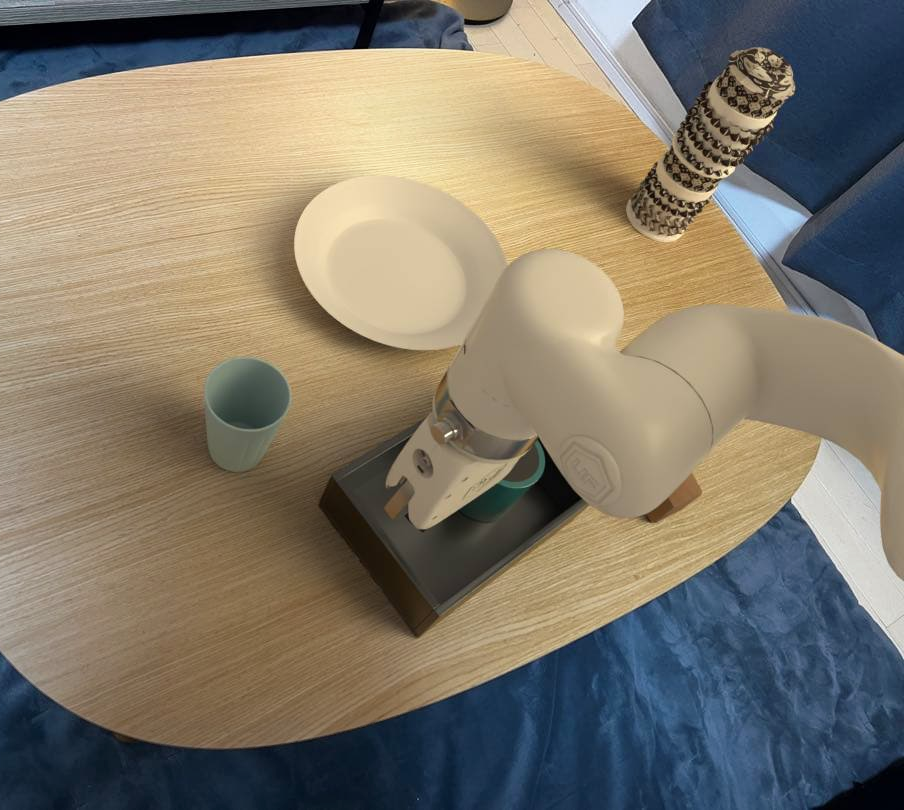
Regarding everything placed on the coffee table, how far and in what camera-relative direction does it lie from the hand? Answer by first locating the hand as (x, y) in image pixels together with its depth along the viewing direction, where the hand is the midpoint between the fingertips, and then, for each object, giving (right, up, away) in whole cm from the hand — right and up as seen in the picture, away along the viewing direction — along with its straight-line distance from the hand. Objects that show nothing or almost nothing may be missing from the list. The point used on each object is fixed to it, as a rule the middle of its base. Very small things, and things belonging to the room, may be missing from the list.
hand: (417, 513), depth 72 cm
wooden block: (+25, +1, +20) cm, 32 cm away
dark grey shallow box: (+4, -2, +13) cm, 13 cm away
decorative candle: (+35, +34, +43) cm, 65 cm away
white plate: (-1, +24, +27) cm, 36 cm away
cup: (-17, +5, +11) cm, 21 cm away
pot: (+7, +1, +14) cm, 16 cm away
